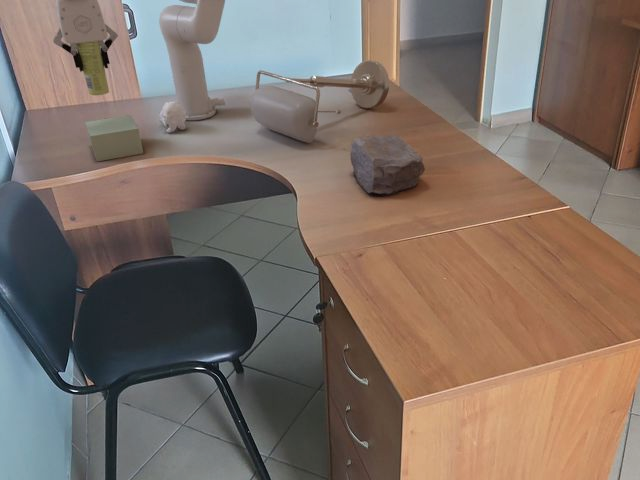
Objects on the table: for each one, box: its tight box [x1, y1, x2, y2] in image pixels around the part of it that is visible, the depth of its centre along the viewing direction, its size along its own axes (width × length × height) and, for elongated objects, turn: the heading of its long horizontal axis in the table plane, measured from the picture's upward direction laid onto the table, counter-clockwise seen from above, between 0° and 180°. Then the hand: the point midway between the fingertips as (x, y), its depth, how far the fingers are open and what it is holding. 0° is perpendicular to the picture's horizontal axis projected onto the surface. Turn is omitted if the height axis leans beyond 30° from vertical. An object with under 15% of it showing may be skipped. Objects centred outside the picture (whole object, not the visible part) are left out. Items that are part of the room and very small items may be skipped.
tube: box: [76, 41, 110, 96], centre depth 148 cm, size 6×5×20 cm
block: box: [85, 114, 145, 162], centre depth 160 cm, size 12×12×7 cm
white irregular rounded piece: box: [159, 100, 187, 134], centre depth 173 cm, size 6×8×12 cm
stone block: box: [349, 134, 426, 197], centre depth 141 cm, size 17×12×15 cm
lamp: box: [249, 59, 390, 144], centre depth 174 cm, size 27×23×40 cm
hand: (93, 67), depth 150 cm, fingers closed on tube, 5 cm apart
